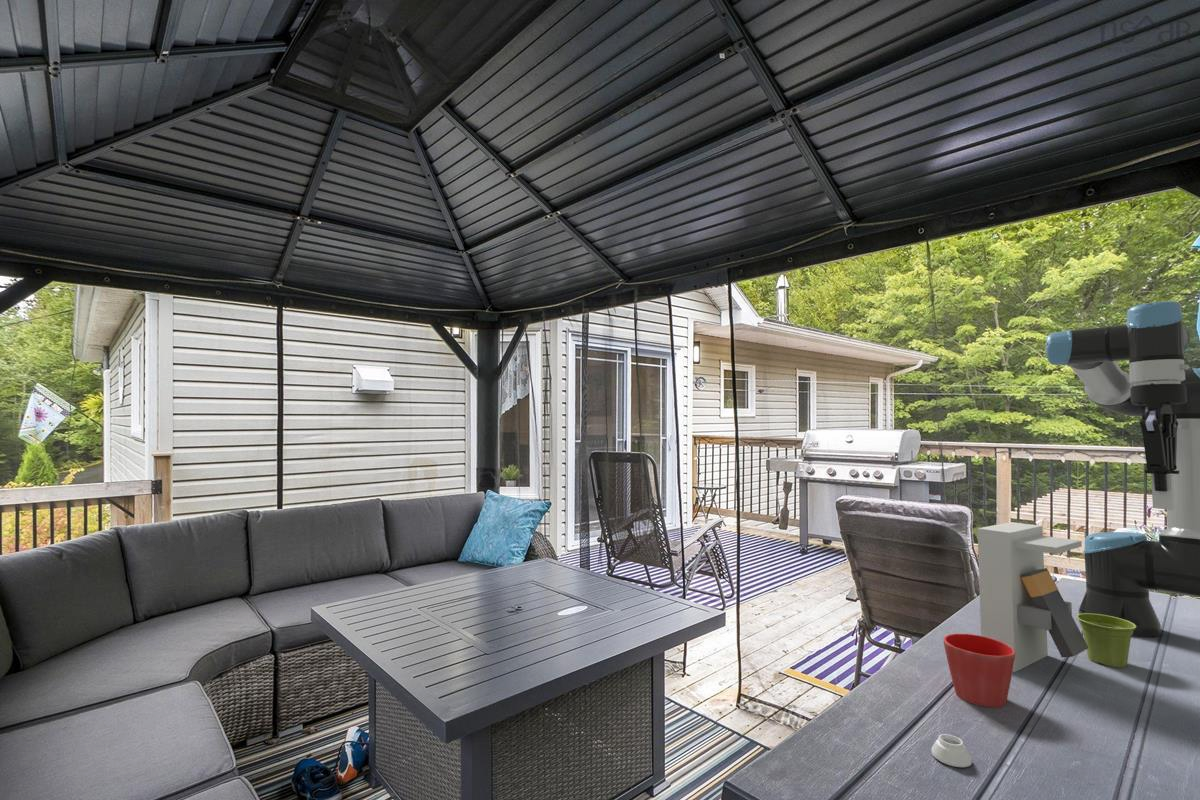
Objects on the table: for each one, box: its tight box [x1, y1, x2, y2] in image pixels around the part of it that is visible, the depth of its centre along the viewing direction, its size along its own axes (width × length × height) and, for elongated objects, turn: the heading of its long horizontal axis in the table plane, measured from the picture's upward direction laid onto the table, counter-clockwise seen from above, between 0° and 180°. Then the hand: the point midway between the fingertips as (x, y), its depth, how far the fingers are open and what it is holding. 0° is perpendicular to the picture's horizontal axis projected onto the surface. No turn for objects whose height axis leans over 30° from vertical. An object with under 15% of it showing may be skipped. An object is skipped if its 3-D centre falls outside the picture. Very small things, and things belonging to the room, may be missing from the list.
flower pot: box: [942, 633, 1015, 708], centre depth 102 cm, size 11×11×10 cm
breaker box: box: [977, 521, 1083, 673], centre depth 117 cm, size 16×13×28 cm
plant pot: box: [1076, 613, 1136, 668], centre depth 118 cm, size 9×9×9 cm
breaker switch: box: [1020, 567, 1089, 659], centre depth 114 cm, size 9×2×16 cm, turn 122°
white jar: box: [930, 733, 973, 768], centre depth 83 cm, size 5×3×5 cm
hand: (1163, 508), depth 104 cm, fingers closed
